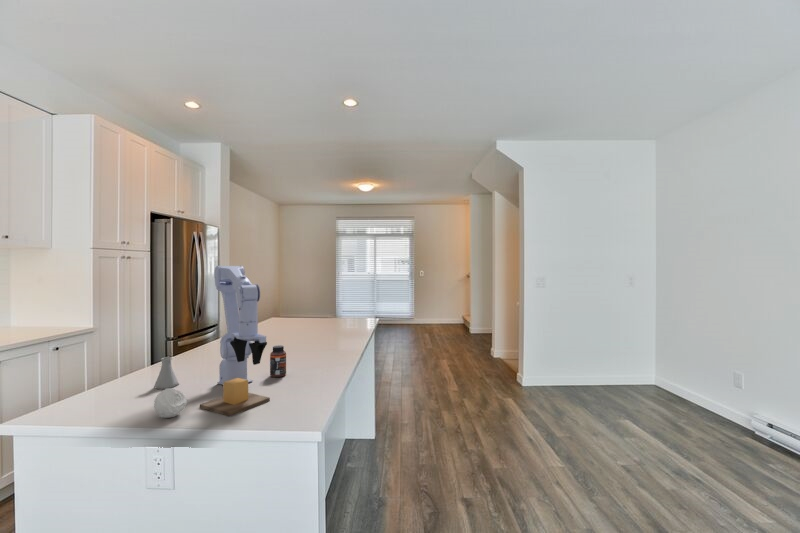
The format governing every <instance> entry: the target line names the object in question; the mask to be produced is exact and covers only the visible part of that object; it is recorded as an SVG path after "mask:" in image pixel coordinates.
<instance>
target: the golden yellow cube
mask: <svg viewBox="0 0 800 533" xmlns="http://www.w3.org/2000/svg"><path fill="white" fill-rule="evenodd" d="M222 389H223V390H222V391H223V395H222V397H223V402H226V403H229V404H233V405H235V404H238V403H240V402H243V401H246V400H248V393H249V383H248V380H246V379H241V378H235V379H232V380H229V381H225V382H223V386H222Z"/></svg>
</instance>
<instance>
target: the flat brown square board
mask: <svg viewBox="0 0 800 533" xmlns="http://www.w3.org/2000/svg"><path fill="white" fill-rule="evenodd" d="M270 400H271V399H270V397H268V396H264V395H259V394H257V393H251V392H248V400H246V401H243V402H240V403H238V404H235V405H233V404H229V403H226V402H223V396H220V397H217V398H214V399H211V400H208V401H205V402H202V403H200V404H199V408H200V409H203V410H206V411H209V412H213V413H217V414H221V415H224V416H228V417H232V416H236V415H237V414H240V413H242V412H243V413H244V412H245V411H248V410H250V409H253V408H255V407H257V406H260V405H263V404H265V403H268V402H270Z"/></svg>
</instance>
